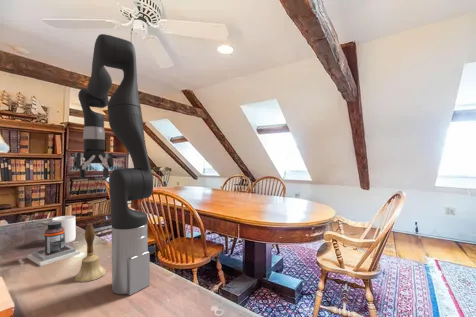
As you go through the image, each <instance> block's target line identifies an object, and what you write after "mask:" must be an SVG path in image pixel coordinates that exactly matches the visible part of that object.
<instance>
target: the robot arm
mask: <svg viewBox="0 0 476 317" xmlns="http://www.w3.org/2000/svg"><path fill="white" fill-rule="evenodd" d="M92 54H93V55H92V63H91V74H90V78H89V80H88V83H87V88H85V87H83V88H81V89H80V90H79V91H78V96H77V97H78V101H79V103H80V106H81V109H82V110H81V111H82V115H83V133H82V134H83V135H82V138H83V152H74V155H73V158H74V159H73V168H74V169H78V170H79V178H80V179H81V180H86V179H87V178H86V176H87V174H86V168H87V167H88V166H89V165H91V164H99V165H101V166H102V177H103V178H108V176H109V179H108V190H109V191H108V192H109V202H110V218H111V220H110V222H111V290H112V292H113V293H115V294H117V295H129V296H131V295H135V293H137V292H139V291H142V290H143V289H145V288H147V287H149V286H150V284H151V281H150V280H151V278H150V277H151V273H150V270H151V269H150V262H151V261H150V260H151V259H150V258H151V257H150V251H149V250H148V214H147V213H146V212H145V211H140V210H134V209H131V208H130V207H129V205H128V202H130V201H131V202H132V201H138V200H146V199H149V198H150V197H151V196H152V195H153V192H154V177H153V172H152V168H151V164H150V159H149V155H148V149H147V145H146V139H145V138H146V137H145V132H144V121H143V114H142V113H143V112H142V107H141V101H140V96H139V87H138V86H139V85H138V78H137V77H138V75H137V74H138V72H137V71H138V70H137V57H136V56H137V55H136V49H135V46H134V44H133V43H132V42H131V41H129V40H127V39H123V38H120V37H117V36H112V35H110V34H106V33H102V34H101V33H100V34H99V35H97V38H96V39H95V42H94V47H93V53H92ZM106 67H107V68H111V69H112V68H113V69H116V70H122V73H123V78H122V80H121V82H120V84H119V86H117V89H115V91H114V92H113V93H112V94H111V97H110V98H109V92H110V89H112V84H113V80H112V76H111V75H110V73H109V72H108V70H107V69H106ZM92 108H96V109H97V108H98V109H104V108H107V116H108V126H109V127H110V129H111V131H112V133H113V134H114V135H115V137H116V138H117V139H118V141H120V143H121V144H122V146H123V147H125V149H126V150H127V152H128V154H129V155H130V158H131V160H132V161H131V162H132V165H133V167H126V168H123V167H122V168H115V169H113V170H112V171H111V173H110V172H109V170H110V168H113V167H114V156H113V155H114V154H113V153H112V152H108V153H106V134H105V117H104V114H102V113H100V112H96V111H94V110H92ZM82 158H84V160H82ZM105 158H106V159H105ZM81 160H82V163H81ZM106 160H107V161H106ZM109 173H110V175H109Z"/></svg>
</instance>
